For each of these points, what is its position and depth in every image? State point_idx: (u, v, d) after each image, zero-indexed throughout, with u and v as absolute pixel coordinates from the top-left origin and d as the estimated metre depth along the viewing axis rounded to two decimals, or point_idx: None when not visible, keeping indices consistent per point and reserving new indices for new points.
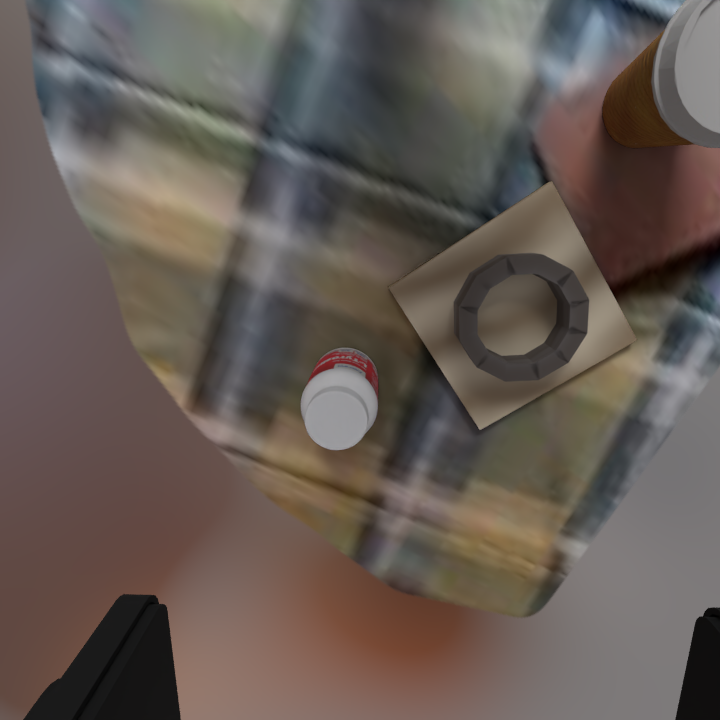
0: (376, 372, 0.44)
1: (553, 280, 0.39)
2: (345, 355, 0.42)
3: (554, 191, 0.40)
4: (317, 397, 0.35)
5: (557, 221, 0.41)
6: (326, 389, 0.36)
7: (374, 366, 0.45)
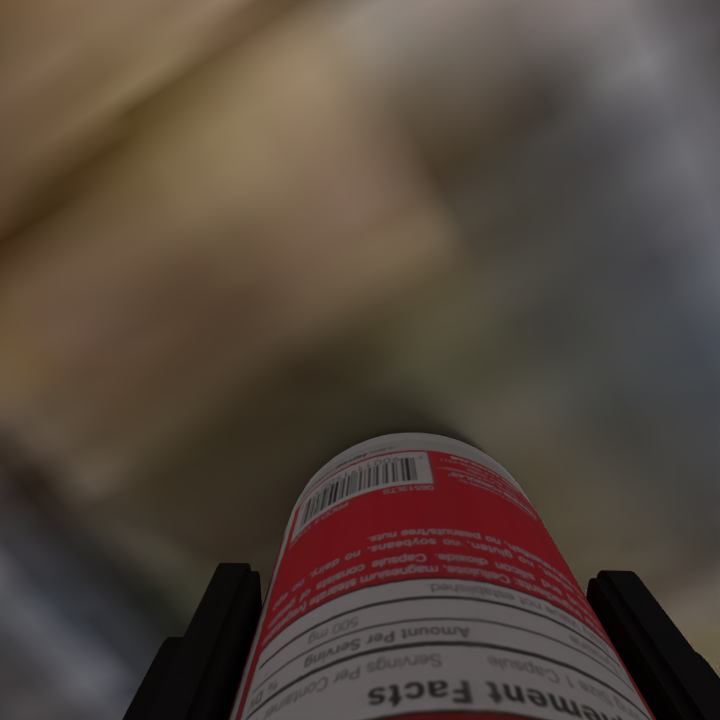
0: None
1: None
2: None
3: None
4: None
5: None
6: None
7: None
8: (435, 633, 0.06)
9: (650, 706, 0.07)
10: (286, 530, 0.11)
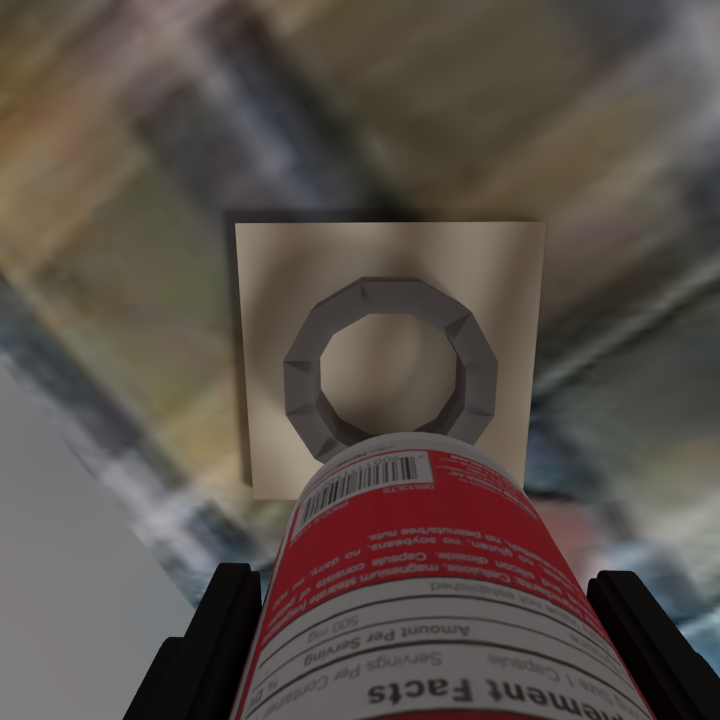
0: None
1: None
2: None
3: None
4: None
5: None
6: None
7: None
8: (435, 632, 0.06)
9: (650, 706, 0.07)
10: (286, 529, 0.11)
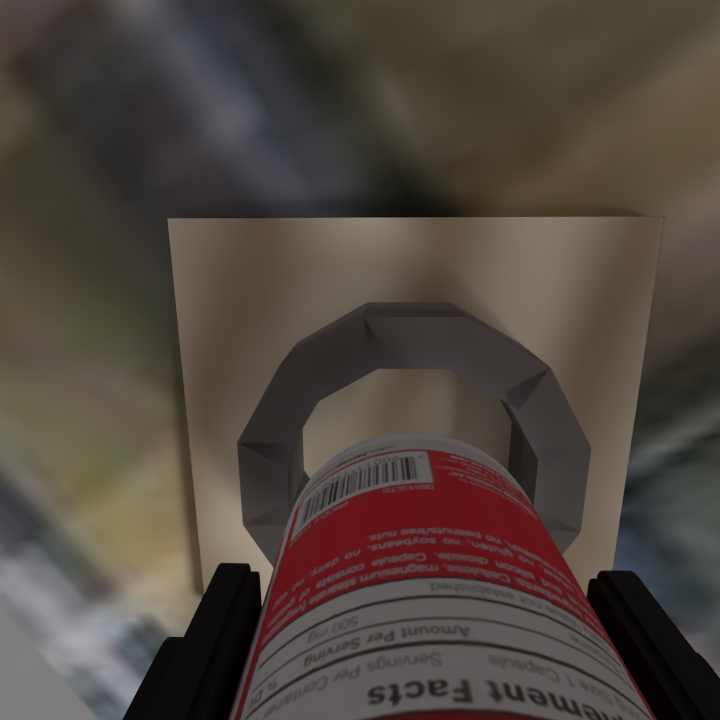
0: None
1: None
2: None
3: None
4: None
5: None
6: None
7: None
8: (435, 633, 0.05)
9: (650, 706, 0.07)
10: (286, 529, 0.11)
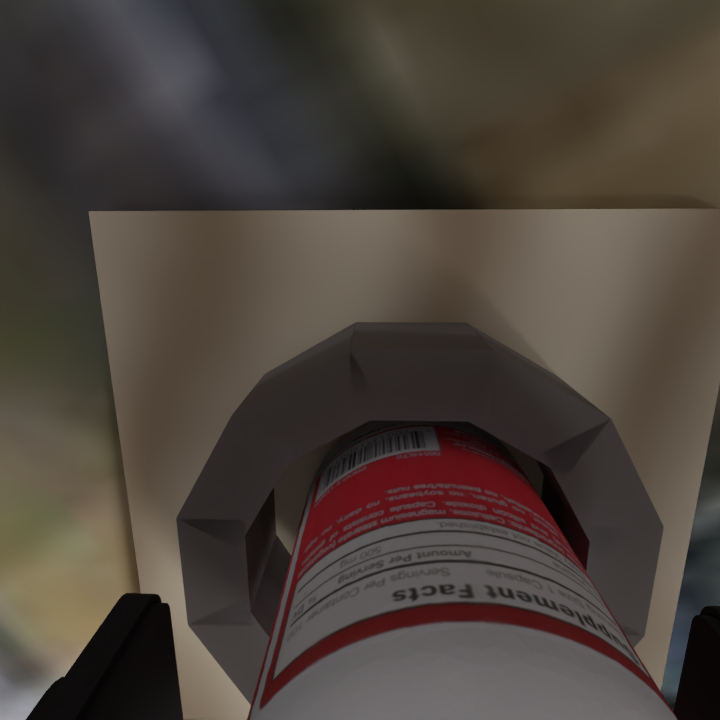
0: None
1: None
2: None
3: None
4: None
5: None
6: None
7: None
8: (444, 555, 0.07)
9: None
10: (308, 496, 0.12)
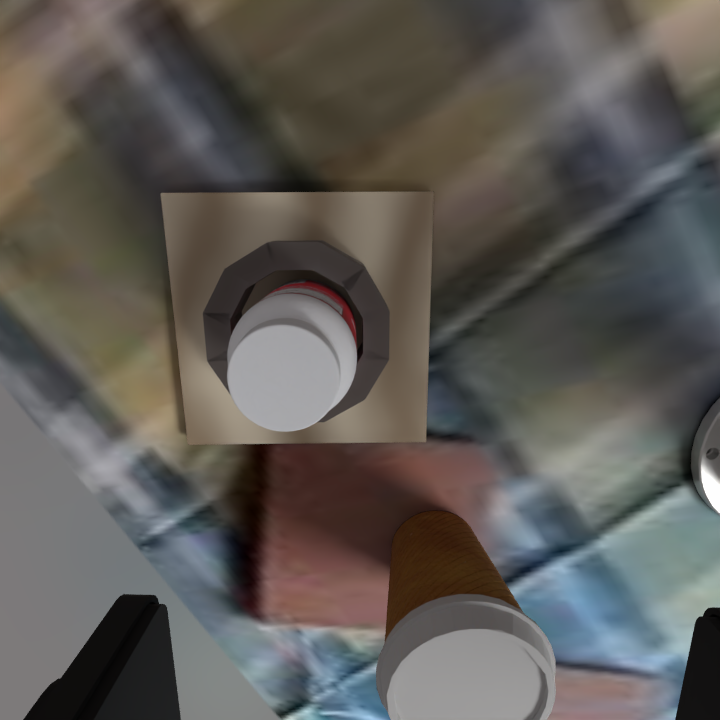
0: None
1: None
2: None
3: (413, 439, 0.33)
4: (337, 376, 0.20)
5: (380, 427, 0.33)
6: None
7: None
8: (290, 290, 0.24)
9: None
10: None
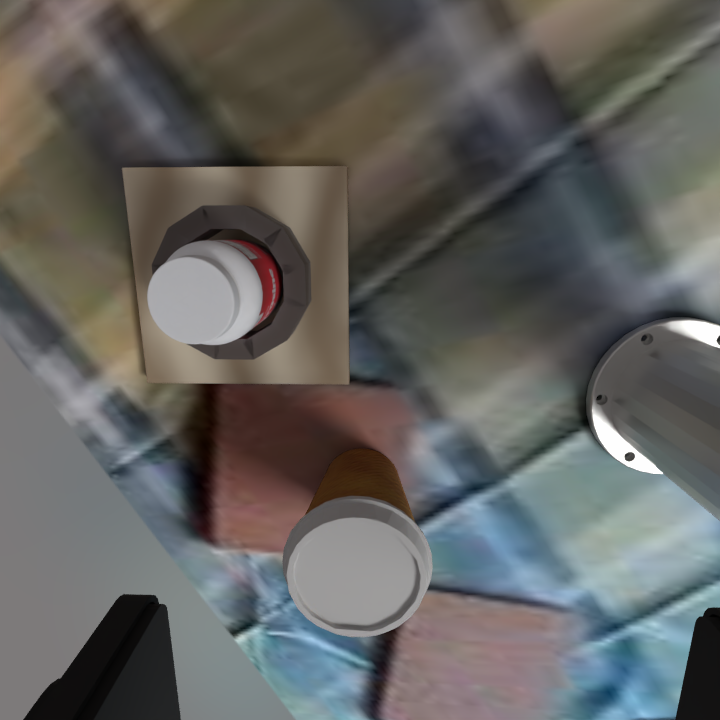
0: None
1: (254, 336, 0.34)
2: (268, 314, 0.33)
3: (338, 381, 0.38)
4: (232, 299, 0.26)
5: (309, 370, 0.38)
6: (236, 311, 0.26)
7: None
8: None
9: None
10: None
